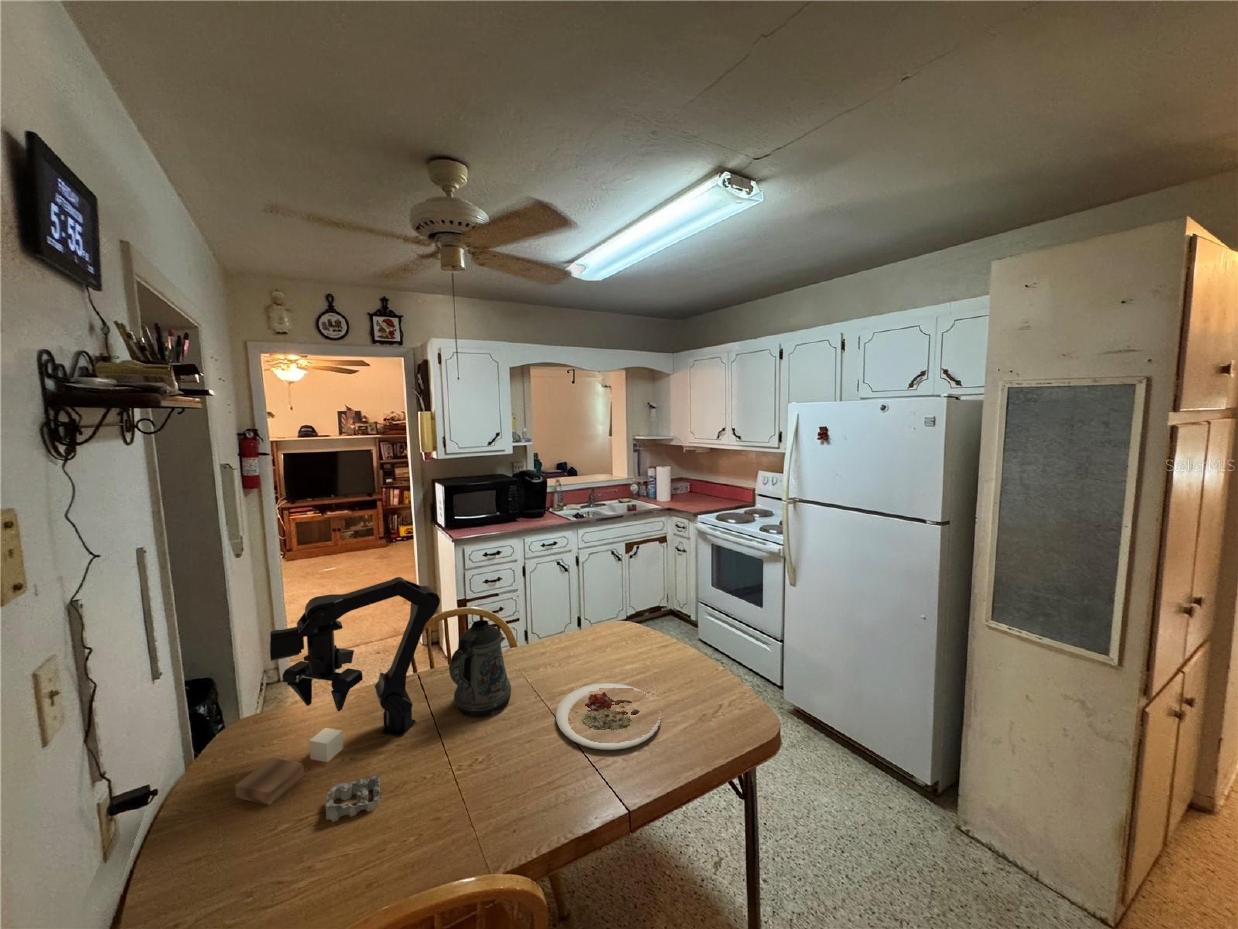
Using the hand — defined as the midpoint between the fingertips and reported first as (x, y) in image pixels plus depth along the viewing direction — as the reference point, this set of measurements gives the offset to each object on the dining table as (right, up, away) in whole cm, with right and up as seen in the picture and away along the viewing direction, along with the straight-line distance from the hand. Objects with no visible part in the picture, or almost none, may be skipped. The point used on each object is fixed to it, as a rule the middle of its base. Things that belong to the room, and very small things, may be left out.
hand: (324, 707), depth 122 cm
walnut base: (-6, -13, -10) cm, 18 cm away
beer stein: (+33, -11, +22) cm, 41 cm away
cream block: (0, -12, +1) cm, 12 cm away
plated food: (+71, -12, +18) cm, 74 cm away
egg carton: (+15, -15, -15) cm, 26 cm away
